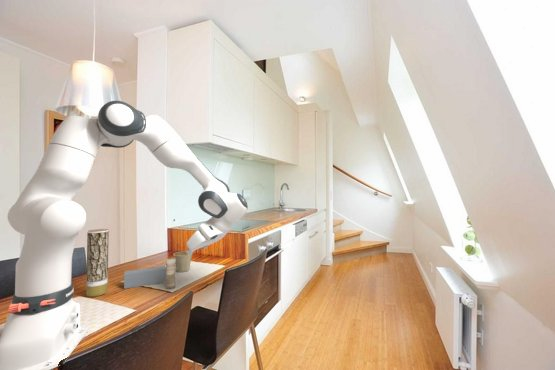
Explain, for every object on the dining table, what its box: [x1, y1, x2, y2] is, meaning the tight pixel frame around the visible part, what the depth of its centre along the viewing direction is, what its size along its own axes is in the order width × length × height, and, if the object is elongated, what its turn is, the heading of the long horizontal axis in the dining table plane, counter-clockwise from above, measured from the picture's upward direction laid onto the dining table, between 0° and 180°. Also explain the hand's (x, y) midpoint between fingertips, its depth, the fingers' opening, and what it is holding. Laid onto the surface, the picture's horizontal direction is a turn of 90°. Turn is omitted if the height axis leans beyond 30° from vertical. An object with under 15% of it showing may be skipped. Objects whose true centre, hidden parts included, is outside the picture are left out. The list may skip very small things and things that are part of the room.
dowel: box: [165, 257, 176, 290], centre depth 104 cm, size 4×4×12 cm
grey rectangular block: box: [123, 265, 166, 290], centre depth 108 cm, size 16×4×6 cm, turn 119°
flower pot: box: [172, 250, 194, 273], centre depth 126 cm, size 9×9×9 cm
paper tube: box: [85, 228, 110, 298], centre depth 98 cm, size 7×7×25 cm
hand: (195, 250), depth 101 cm, fingers open, 8 cm apart
